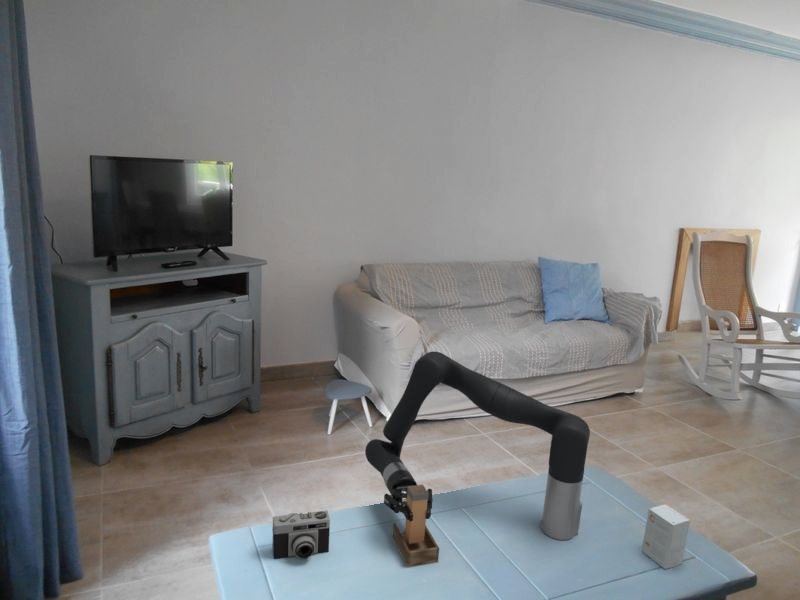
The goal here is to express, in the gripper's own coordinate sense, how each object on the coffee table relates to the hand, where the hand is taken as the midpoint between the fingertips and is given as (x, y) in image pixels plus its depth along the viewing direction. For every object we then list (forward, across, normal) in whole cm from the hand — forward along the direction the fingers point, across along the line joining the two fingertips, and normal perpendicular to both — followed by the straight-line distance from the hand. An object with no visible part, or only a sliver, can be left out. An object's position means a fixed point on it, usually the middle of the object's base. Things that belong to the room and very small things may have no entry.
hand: (420, 516), depth 152 cm
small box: (+16, +63, +11) cm, 66 cm away
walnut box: (-2, 0, +11) cm, 11 cm away
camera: (-6, -29, +11) cm, 31 cm away
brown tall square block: (-3, 0, +8) cm, 8 cm away
